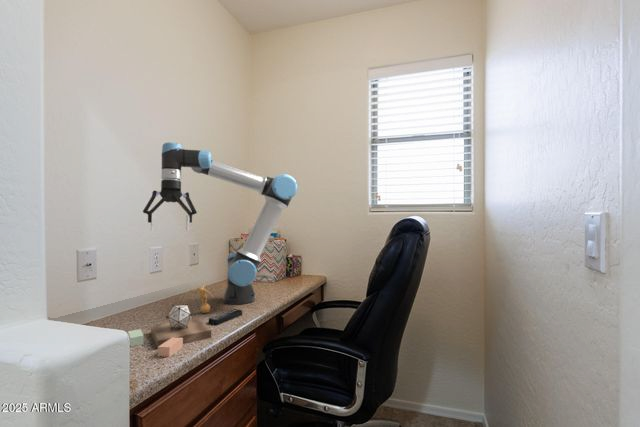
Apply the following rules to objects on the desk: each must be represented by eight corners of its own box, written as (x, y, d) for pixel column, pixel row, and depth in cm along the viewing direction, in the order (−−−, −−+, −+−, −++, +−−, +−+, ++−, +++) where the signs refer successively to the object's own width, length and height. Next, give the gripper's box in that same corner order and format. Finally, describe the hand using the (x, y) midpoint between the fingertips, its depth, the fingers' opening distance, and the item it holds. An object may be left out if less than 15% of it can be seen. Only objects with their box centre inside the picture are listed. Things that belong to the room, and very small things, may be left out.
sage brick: (127, 340, 100) (128, 331, 100) (140, 338, 102) (140, 329, 102) (130, 347, 94) (130, 338, 94) (143, 345, 96) (143, 335, 96)
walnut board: (198, 324, 115) (198, 317, 115) (211, 337, 102) (211, 330, 102) (150, 333, 106) (150, 325, 106) (157, 349, 93) (157, 340, 93)
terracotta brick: (172, 347, 95) (172, 337, 95) (182, 347, 94) (182, 337, 95) (157, 357, 88) (158, 346, 88) (169, 357, 88) (169, 347, 88)
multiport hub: (242, 315, 127) (242, 310, 127) (216, 326, 114) (216, 320, 114) (234, 314, 129) (234, 308, 129) (207, 324, 116) (208, 318, 116)
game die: (181, 340, 102) (180, 322, 97) (160, 329, 104) (158, 311, 98) (199, 320, 110) (199, 302, 104) (179, 310, 111) (178, 292, 106)
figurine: (216, 312, 130) (217, 284, 130) (209, 316, 124) (209, 287, 124) (198, 311, 131) (199, 283, 132) (190, 315, 125) (191, 286, 126)
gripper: (137, 176, 118) (136, 231, 118) (204, 181, 133) (203, 230, 132) (136, 178, 124) (135, 230, 124) (199, 183, 139) (199, 229, 138)
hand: (170, 230), depth 128 cm, fingers open, 13 cm apart
